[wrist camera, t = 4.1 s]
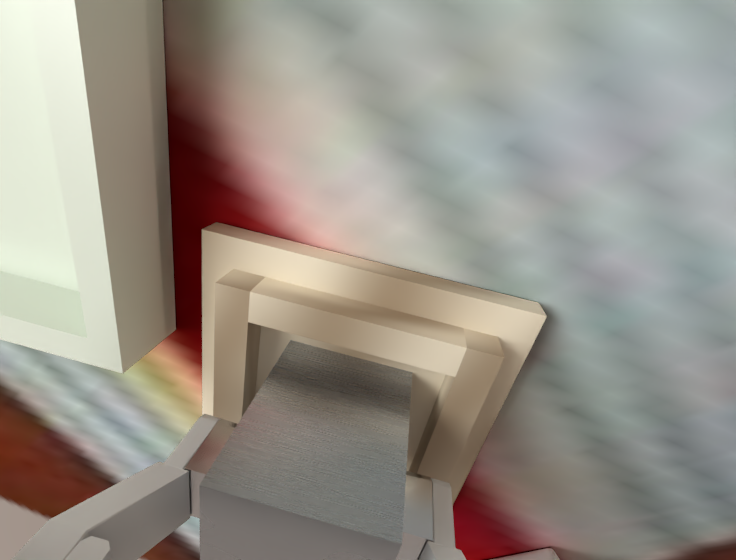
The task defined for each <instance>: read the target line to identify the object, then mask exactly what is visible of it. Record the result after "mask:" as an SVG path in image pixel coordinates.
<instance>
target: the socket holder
mask: <svg viewBox="0 0 736 560" xmlns="http://www.w3.org/2000/svg"><path fill="white" fill-rule="evenodd" d="M546 317H547V316H546V314H545V312H544V311H543V309H542V307H541V306H540V304H539V303H537V302H533V301H529V300H525V299H521V298H518V297H514V296H510V295H506V294H502V293H498V292H494V291H490V290H486V289H482V288H478V287H474V286H470V285H466V284H462V283H458V282H454V281H450V280H446V279H442V278H438V277H434V276H430V275H426V274H422V273H418V272H414V271H410V270H406V269H402V268H398V267H394V266H390V265H386V264H382V263H378V262H374V261H370V260H366V259H362V258H358V257H354V256H350V255H346V254H342V253H338V252H334V251H330V250H326V249H322V248H318V247H314V246H310V245H306V244H302V243H298V242H294V241H290V240H286V239H282V238H278V237H274V236H270V235H266V234H262V233H258V232H254V231H250V230H246V229H242V228H238V227H234V226H230V225H226V224H222V223H218V222H216V223H214V224H212V225H210V226H208V227H206V228H203V229H202V415H204V414H207V415H211V416H214V417H218V418H221V419H224V420H227V421H231V422H234V423H237V424H238V423H239V421H240V420H241V418H242V417H243V415H244V413H245V412H246V410H247V409H248V407H249V405H250V404H251V402H252V401H253V399H254V397H255V396H256V394H257V393H258V391H259V389H260V388H261V386H262V385H263V383H264V381H265V380H266V378H267V377H268V375H269V373H270V372H271V370H272V369H273V367H274V366H275V364H276V362H277V361H278V359H279V358H280V356H281V354H282V353H283V351H284V350H285V348H286V346H287V345H288V343H289V342H290V340H293V341H296V342H300V343H304V344H308V345H311V346H315V347H319V348H323V349H326V350H330V351H334V352H338V353H341V354H345V355H349V356H353V357H357V358H360V359H364V360H368V361H372V362H375V363H379V364H383V365H387V366H390V367H394V368H398V369H402V370H405V371H409V372H412V385H411V402H410V419H409V435H408V452H407V469H406V471H409V472H413V473H417V474H421V475H424V476H428V477H430V478H433V479H437V480H441V481H444V482H448V483H450V486H451V492H452V506H453V504H454V502H455V500H456V498H457V496H458V494H459V492H460V490H461V488H462V486H463V484H464V482H465V480H466V478H467V476H468V474H469V472H470V470H471V468H472V466H473V464H474V462H475V460H476V458H477V456H478V454H479V452H480V449H481V447H482V445H483V443H484V441H485V439H486V437H487V435H488V433H489V431H490V429H491V427H492V425H493V423H494V421H495V419H496V417H497V415H498V413H499V411H500V409H501V407H502V405H503V403H504V401H505V399H506V397H507V395H508V393H509V391H510V389H511V387H512V385H513V383H514V381H515V379H516V377H517V375H518V373H519V371H520V369H521V367H522V365H523V363H524V361H525V359H526V357H527V355H528V353H529V351H530V349H531V347H532V345H533V343H534V341H535V339H536V337H537V335H538V333H539V331H540V329H541V327H542V325H543V323H544V321H545V319H546Z"/></svg>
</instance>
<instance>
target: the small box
mask: <svg viewBox="0 0 736 560" xmlns="http://www.w3.org/2000/svg"><path fill="white" fill-rule="evenodd" d="M490 560H560V559H559V557H558V556H557V555H556V553H555V551H554V550H553V549H551V548H545V549H540V550H535V551H531V552H526V553H521V554H516V555H511V556H506V557H501V558H495V559H490Z"/></svg>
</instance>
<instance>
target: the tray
mask: <svg viewBox="0 0 736 560" xmlns="http://www.w3.org/2000/svg"><path fill="white" fill-rule="evenodd" d="M175 330H176V315H175V291H174V267H173V243H172V219H171V195H170V171H169V147H168V123H167V99H166V76H165V52H164V28H163V4H162V0H0V339H1V340H4V341H8V342H12V343H15V344H19V345H22V346H26V347H30V348H33V349H37V350H40V351H44V352H48V353H51V354H55V355H58V356H62V357H65V358H69V359H73V360H76V361H80V362H83V363H87V364H91V365H94V366H98V367H101V368H105V369H108V370H112V371H116V372H119V373H124V372H125V371H126V370H128V369H129V368H130V367H131V366H132V365H134V364H135V363H136V362H137V361H139V360H140V359H141V358H142V357H143V356H145V355H146V354H147V353H148V352H149V351H151V350H152V349H153V348H154V347H155V346H157V345H158V344H159V343H160V342H162V341H163V340H164V339H165V338H166V337H168V336H169V335H170V334H171V333H172V332H174V331H175Z"/></svg>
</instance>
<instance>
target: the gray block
mask: <svg viewBox="0 0 736 560" xmlns="http://www.w3.org/2000/svg"><path fill="white" fill-rule="evenodd" d="M411 385H412V372H409V371H405V370H402V369H398V368H394V367H390V366H387V365H383V364H379V363H375V362H372V361H368V360H364V359H360V358H357V357H353V356H349V355H345V354H341V353H338V352H334V351H330V350H326V349H323V348H319V347H315V346H311V345H308V344H304V343H300V342H296V341H293V340H290V342H289V343H288V345H287V346H286V348H285V350H284V351H283V353H282V354H281V356H280V358H279V359H278V361H277V362H276V364H275V366H274V367H273V369H272V370H271V372H270V373H269V375H268V377H267V378H266V380H265V381H264V383H263V385H262V386H261V388H260V389H259V391H258V393H257V394H256V396H255V397H254V399H253V401H252V402H251V404H250V405H249V407H248V409H247V410H246V412H245V413H244V415H243V417H242V418H241V420H240V421H239V423H238V424H237V426H236V428H235V429H234V431H233V432H232V434H231V436H230V437H229V439H228V440H227V442H226V444H225V445H224V447H223V448H222V450H221V452H220V453H219V455H218V456H217V458H216V460H215V461H214V463H213V464H212V466H211V468H210V469H209V471H208V472H207V474H206V475H205V477H204V479H203V480H202V482H201V483H200V485H199V497H200V560H395V559H396V557H397V555H398V553H399V550H400V548H401V546H402V535H403V519H404V502H405V485H406V469H407V452H408V435H409V419H410V402H411Z"/></svg>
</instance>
